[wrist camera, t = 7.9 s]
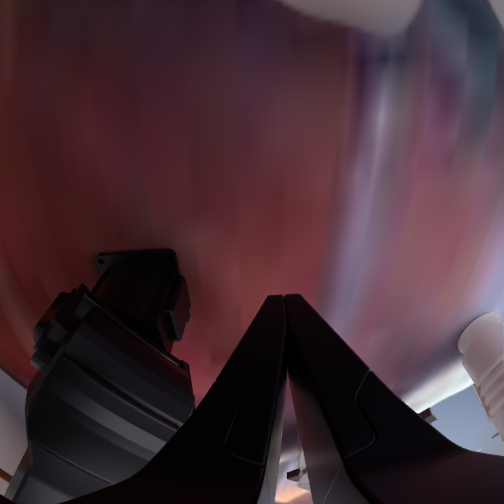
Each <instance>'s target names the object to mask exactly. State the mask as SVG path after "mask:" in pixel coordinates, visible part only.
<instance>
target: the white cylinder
mask: <svg viewBox="0 0 504 504" xmlns="http://www.w3.org/2000/svg"><path fill="white" fill-rule="evenodd" d="M458 349H459V351H460V352H462V353H463V354H464V355H463V359H462V365H463V366H464V368H465V369H466V371H467V372H468V374H469V376H470V377H471V379H472V380H473V382H474V383H475V384H474V387H473V389H474V391H475V393H476V395H477V397H478V399H479V401H480V403H481V405H482V407H483V409H484V412H485V414H486V416H487V418H488V420H489V422H491V423H492V422H494V423H495V426H496V428H497V430H498V433H499V435H500V437H501V439H502V442H503V444H504V322H501V319H500V316H499V315H498V314H497V313H495V312H489V313H486V314H483V315H481V316H480V317H478V318H476V319H475V320H474V321H473V322H471V323H470V324H469V325H468V327H467V328H466V329H465V330H464V331H463V333H462V334H461V336H460V338H459V341H458Z"/></svg>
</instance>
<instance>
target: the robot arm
mask: <svg viewBox="0 0 504 504" xmlns="http://www.w3.org/2000/svg"><path fill="white" fill-rule="evenodd" d="M166 255H170V256H171V257H172V258H168V257H167V256H166ZM100 259H102V260H103V261H104V262H102V261H101V260H100ZM95 261H96V265H97V268H98V270H99V273H100V276H101V277H100V279H99V280H98V282H97V283H96V285H95V286H94V288H93V289H92V291H91V292H90V291H88V289H89V288H87V287H86V286H85V285H84V284H83V283H82V284H81V285H80V286H79V288H78V289H77V290H75V289H73V290H72V292H71V293H65V292H61V293H60V294H59V296H58V297H57V298H56V300H55V301H54V302H53V304H52V305H51V306H50V308H49V309H48V310H47V312H46V313H45V314H44V315H43V317H42V318H41V319H40V320H39V322H38V323H37V325H36V326H35V328H34V329H33V334H34V340H35V346H34V348H33V349H32V350H34V351H35V352H34V354H33V356H32V358H31V360H30V362H29V363H30V364H31V365H33V366H34V367H35V368H36V369H38V371H37V373H36V374H35V376H34V378H33V380H32V381H31V383H30V385H29V387H28V389H27V395H26V402H25V419H26V431H27V441H28V447H27V449H26V451H25V453H24V455H23V457H22V459H21V461H20V463H19V465H18V467H17V470H16V471H15V473H14V476H13V478H12V480H11V482H10V484H9V486H8V488H7V490H6V493H5V495H4V496H2V495H1V494H0V504H274V502H275V494H276V486H277V477H278V469H279V460H280V451H281V441H282V431H283V421H284V411H285V400H286V388H287V369H288V377H289V383H290V388H291V393H292V398H293V403H294V408H295V413H296V418H297V423H298V428H299V433H300V438H301V443H302V448H303V453H304V458H305V464H306V469H307V474H308V479H309V484H310V489H311V495H312V500H313V504H504V456H499V455H493V454H486V453H481V452H475V451H471V450H468V449H465V448H462V447H461V446H458V445H457V444H455V443H453V442H452V441H450V440H449V439H448V438H446V437H445V436H444V435H442V434H441V433H440V432H439V431H438V430H436V429H435V428H434V427H433V426H431V425H430V424H429V423H428V422H427V421H426V420H424V419H423V418H422V417H421V416H420V415H418V414H417V413H416V412H415V411H413V410H412V409H411V408H410V407H409V406H408V405H406V404H405V403H404V402H403V401H402V400H401V399H400V398H399V397H397V396H396V395H395V394H394V393H393V392H392V391H391V390H390V389H389V388H388V387H387V386H386V385H385V384H384V383H383V382H382V381H381V380H380V379H379V378H378V377H377V375H376V374H375V373H374V372H373V371H370V368H369V367H368V366H367V365H366V364H365V363H364V362H363V361H362V359H361V358H360V357H359V356H358V355H357V354H356V353H355V352H354V351H353V350H352V349H351V348H350V347H349V346H348V344H347V343H346V342H345V341H344V340H343V339H342V338H341V337H340V336H339V335H338V334H337V333H336V332H335V331H334V330H333V328H332V327H331V326H330V325H329V324H328V323H327V322H326V321H325V320H324V319H323V318H322V317H321V316H320V315H319V314H318V312H317V311H316V310H315V309H314V308H313V307H312V306H311V305H310V304H309V303H308V302H307V301H306V300H305V299H304V298H303V296H302V295H300V294H286V295H285V296H283V295H269V296H267V298H266V300H265V301H264V303H263V304H262V306H261V308H260V309H259V311H258V313H257V314H256V316H255V318H254V319H253V321H252V323H251V324H250V326H249V327H248V329H247V331H246V332H245V334H244V336H243V337H242V339H241V340H240V342H239V344H238V345H237V347H236V348H235V350H234V352H233V353H232V355H231V356H230V358H229V360H228V361H227V363H226V364H225V366H224V368H223V369H222V371H221V372H220V374H219V375H218V377H217V379H216V381H215V382H214V383H213V385H212V386H211V388H210V389H209V391H208V392H207V394H206V395H205V397H204V398H203V400H202V401H201V402H200V404H199V405H198V407H197V408H196V409H195V396H194V395H193V389H192V382H191V376H190V369H189V364H187V363H186V362H184V361H183V360H181V361H180V360H179V359H177V358H176V357H175V356H173V355H172V354H171V351H172V347H173V343H174V342H179V341H180V340H181V339H182V336H183V332H184V328H185V324H186V322H188V321H189V318H190V314H189V309H190V305H191V303H190V299H189V294H188V290H187V285H186V280H185V278H184V277H183V276H182V275H180V270H179V265H178V261H177V256H176V253H175V252H174V251H173V250H171V249H161V250H145V251H129V252H114V253H101V254H99V255H98V256H97V257H96V259H95Z"/></svg>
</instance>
